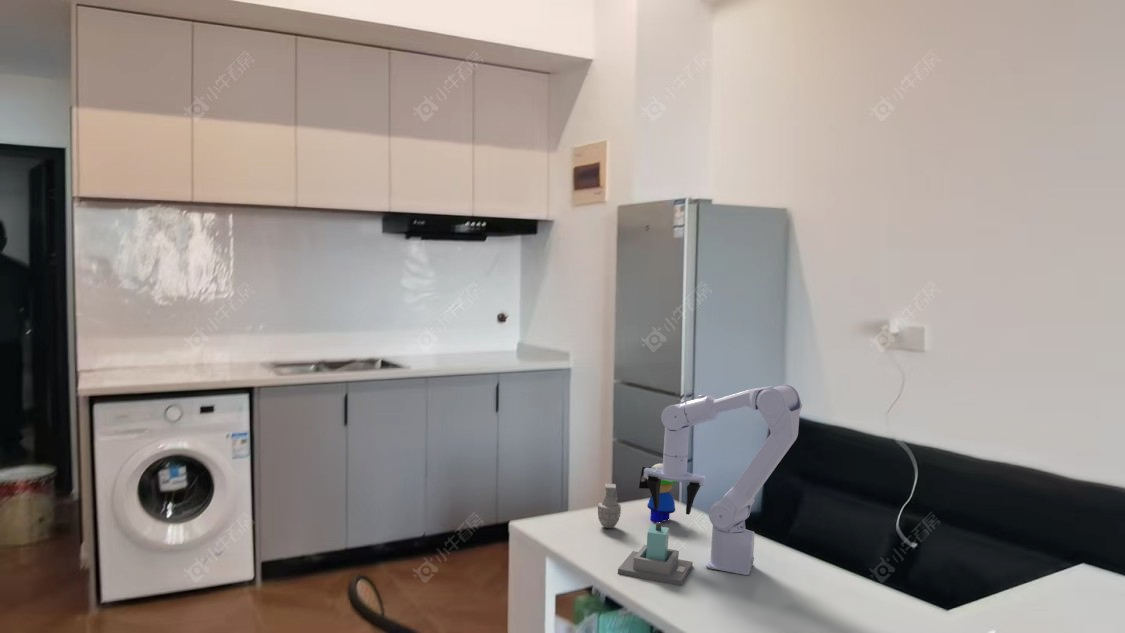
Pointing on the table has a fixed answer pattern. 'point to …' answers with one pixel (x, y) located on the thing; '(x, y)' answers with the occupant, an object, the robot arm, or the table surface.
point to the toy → (660, 497)
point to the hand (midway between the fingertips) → (672, 510)
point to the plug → (657, 542)
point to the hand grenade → (609, 507)
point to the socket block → (656, 567)
